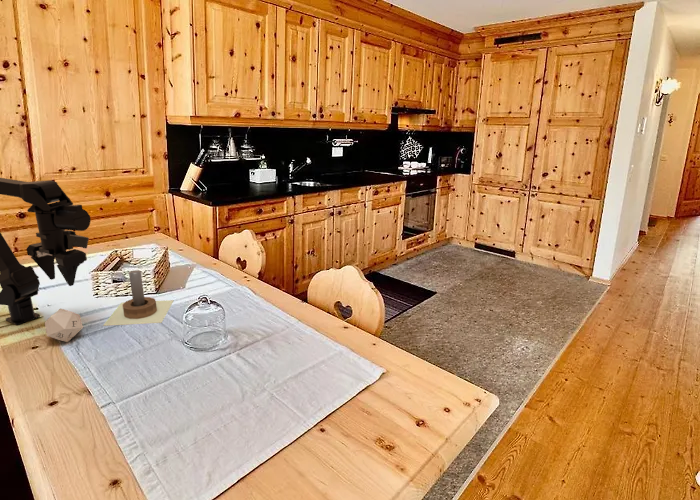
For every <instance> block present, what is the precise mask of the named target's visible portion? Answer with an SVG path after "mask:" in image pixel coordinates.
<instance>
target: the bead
mask: <svg viewBox="0 0 700 500" xmlns="http://www.w3.org/2000/svg"><path fill="white" fill-rule="evenodd" d="M144 298H145V305H143V306H138V307H134V304H133V298H131V299H129V300H126V301H124V302H125V303H124V304H123V311H124V316H125V317H126V318H129V319H139V318H144V317H148V316H150V315H153V314H154V313H155V312H156V311H157V306H156V301H157V300H156V299H155V298H154V297H151V296H144Z"/></svg>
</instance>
